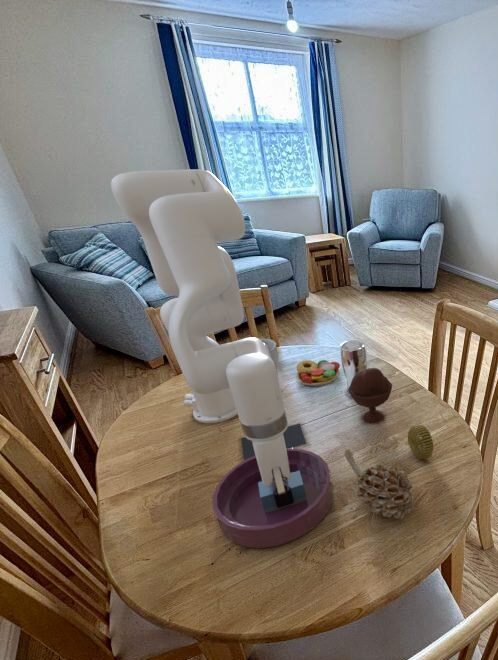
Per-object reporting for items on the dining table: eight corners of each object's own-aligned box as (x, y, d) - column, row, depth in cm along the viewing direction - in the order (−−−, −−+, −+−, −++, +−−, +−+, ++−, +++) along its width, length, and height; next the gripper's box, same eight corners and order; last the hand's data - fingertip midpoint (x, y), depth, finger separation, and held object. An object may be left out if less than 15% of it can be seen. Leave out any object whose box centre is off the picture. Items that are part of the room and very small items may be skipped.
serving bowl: (197, 546, 74) (187, 525, 71) (251, 464, 92) (245, 445, 90) (313, 554, 73) (309, 533, 70) (345, 469, 91) (342, 450, 88)
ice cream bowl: (396, 406, 112) (394, 358, 105) (389, 431, 103) (385, 380, 95) (358, 404, 113) (353, 356, 106) (347, 428, 104) (341, 377, 96)
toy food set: (297, 368, 131) (295, 359, 129) (339, 364, 134) (338, 355, 132) (295, 390, 120) (294, 380, 118) (342, 384, 122) (340, 375, 121)
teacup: (287, 363, 134) (282, 341, 130) (265, 379, 125) (260, 356, 121) (252, 357, 138) (247, 335, 134) (229, 372, 129) (222, 349, 125)
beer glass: (346, 386, 122) (340, 340, 114) (370, 385, 122) (366, 339, 114) (344, 399, 116) (338, 351, 108) (369, 398, 116) (364, 350, 108)
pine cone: (429, 513, 81) (429, 475, 75) (392, 543, 75) (389, 504, 70) (360, 460, 94) (356, 425, 89) (324, 482, 88) (317, 446, 83)
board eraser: (265, 513, 79) (260, 497, 77) (262, 498, 83) (257, 482, 81) (306, 500, 82) (303, 484, 80) (302, 486, 86) (299, 470, 83)
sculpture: (405, 448, 97) (404, 420, 93) (420, 442, 99) (419, 415, 95) (420, 468, 91) (420, 440, 87) (436, 462, 93) (436, 434, 89)
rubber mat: (244, 461, 93) (243, 460, 93) (241, 439, 100) (241, 438, 100) (306, 444, 98) (306, 443, 98) (299, 424, 105) (299, 423, 105)
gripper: (238, 402, 78) (259, 474, 87) (245, 456, 65) (269, 533, 74) (279, 393, 81) (295, 464, 90) (294, 443, 67) (311, 519, 77)
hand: (283, 494), depth 82 cm, fingers closed on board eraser, 4 cm apart
